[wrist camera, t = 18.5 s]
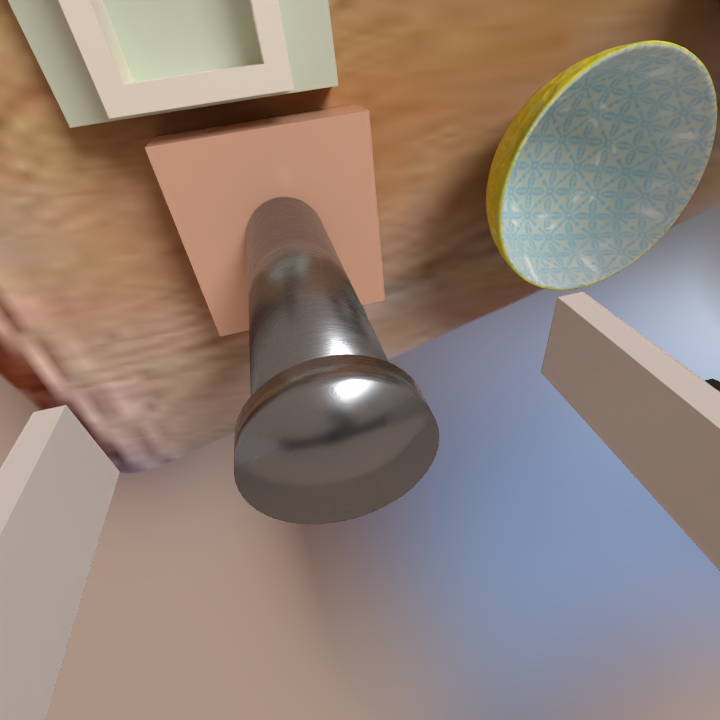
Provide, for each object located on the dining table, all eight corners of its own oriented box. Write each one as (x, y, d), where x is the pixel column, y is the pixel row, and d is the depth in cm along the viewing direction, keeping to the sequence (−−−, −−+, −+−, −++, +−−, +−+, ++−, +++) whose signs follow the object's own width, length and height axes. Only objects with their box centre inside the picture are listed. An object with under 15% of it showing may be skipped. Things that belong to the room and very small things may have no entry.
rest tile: (155, 136, 20) (144, 147, 17) (354, 104, 21) (368, 110, 19) (221, 311, 26) (220, 336, 24) (372, 279, 27) (385, 300, 25)
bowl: (421, 120, 22) (472, 139, 17) (619, -6, 21) (733, -24, 16) (478, 280, 29) (525, 325, 24) (628, 193, 28) (710, 222, 23)
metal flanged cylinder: (225, 198, 19) (201, 417, 8) (323, 180, 20) (440, 360, 8) (252, 287, 22) (265, 543, 11) (337, 269, 23) (438, 495, 11)
